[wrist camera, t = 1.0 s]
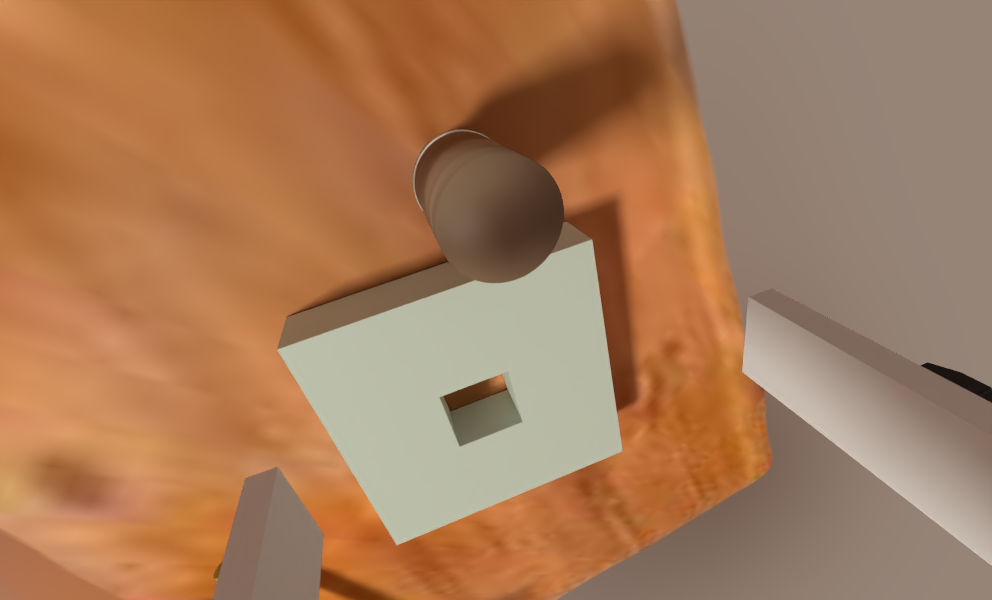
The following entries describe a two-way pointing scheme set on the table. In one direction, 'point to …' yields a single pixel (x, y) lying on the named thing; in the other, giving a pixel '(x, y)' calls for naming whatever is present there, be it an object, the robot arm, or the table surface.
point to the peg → (487, 206)
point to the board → (461, 384)
